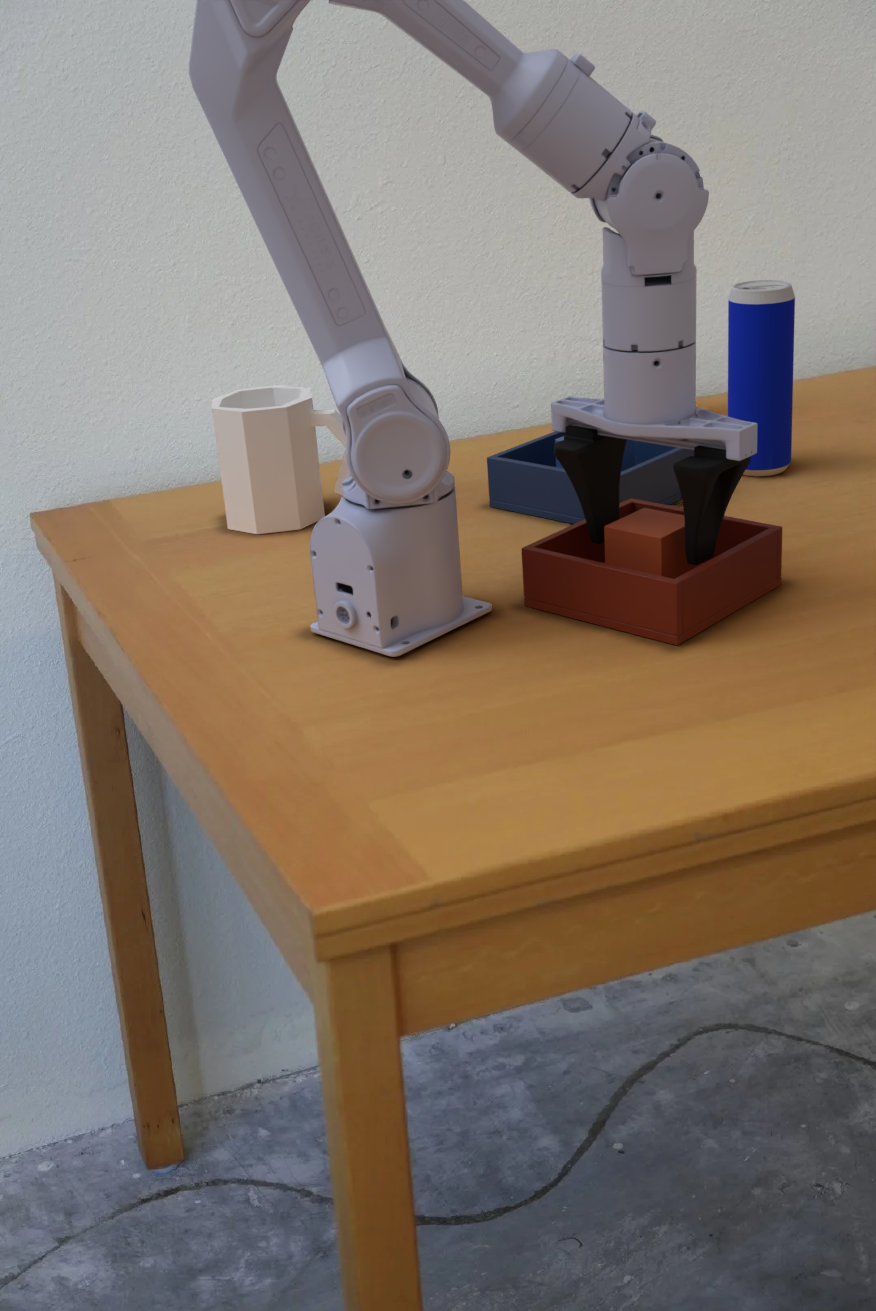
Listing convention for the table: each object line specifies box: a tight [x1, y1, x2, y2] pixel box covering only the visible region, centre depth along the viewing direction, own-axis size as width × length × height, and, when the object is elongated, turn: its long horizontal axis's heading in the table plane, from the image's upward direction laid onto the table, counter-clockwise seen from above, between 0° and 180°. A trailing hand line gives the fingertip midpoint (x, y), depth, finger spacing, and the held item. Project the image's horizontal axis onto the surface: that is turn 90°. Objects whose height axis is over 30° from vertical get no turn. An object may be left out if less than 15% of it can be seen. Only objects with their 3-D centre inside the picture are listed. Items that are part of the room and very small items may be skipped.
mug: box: [211, 384, 350, 535], centre depth 118 cm, size 12×9×10 cm
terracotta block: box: [604, 508, 701, 579], centre depth 97 cm, size 4×4×4 cm
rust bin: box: [521, 498, 783, 646], centre depth 98 cm, size 12×12×4 cm
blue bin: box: [486, 431, 694, 525], centre depth 118 cm, size 12×12×4 cm
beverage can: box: [727, 279, 796, 477], centre depth 120 cm, size 5×5×15 cm
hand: (651, 549), depth 97 cm, fingers open, 7 cm apart
